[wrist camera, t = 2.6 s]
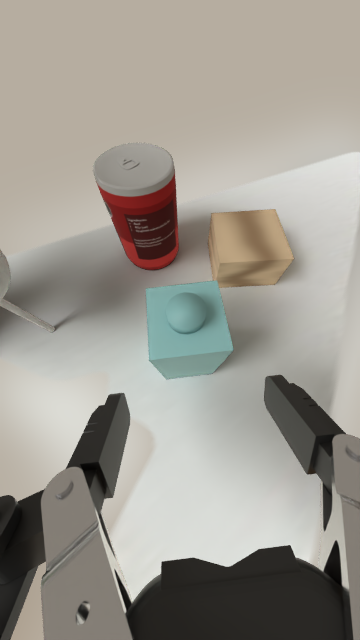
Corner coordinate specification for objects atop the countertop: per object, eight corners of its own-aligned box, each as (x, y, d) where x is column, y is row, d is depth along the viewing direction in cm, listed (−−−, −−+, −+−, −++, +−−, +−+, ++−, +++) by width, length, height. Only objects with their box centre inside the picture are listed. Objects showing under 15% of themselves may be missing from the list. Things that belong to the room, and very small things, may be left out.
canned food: (144, 225, 30) (123, 135, 20) (188, 242, 28) (189, 152, 18) (115, 258, 27) (73, 173, 17) (162, 279, 25) (145, 199, 15)
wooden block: (213, 288, 25) (219, 263, 20) (207, 244, 28) (211, 213, 23) (274, 285, 24) (294, 258, 20) (260, 241, 28) (275, 209, 23)
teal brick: (166, 379, 20) (145, 356, 10) (163, 335, 22) (142, 279, 12) (212, 373, 20) (238, 345, 10) (204, 330, 22) (219, 271, 12)
